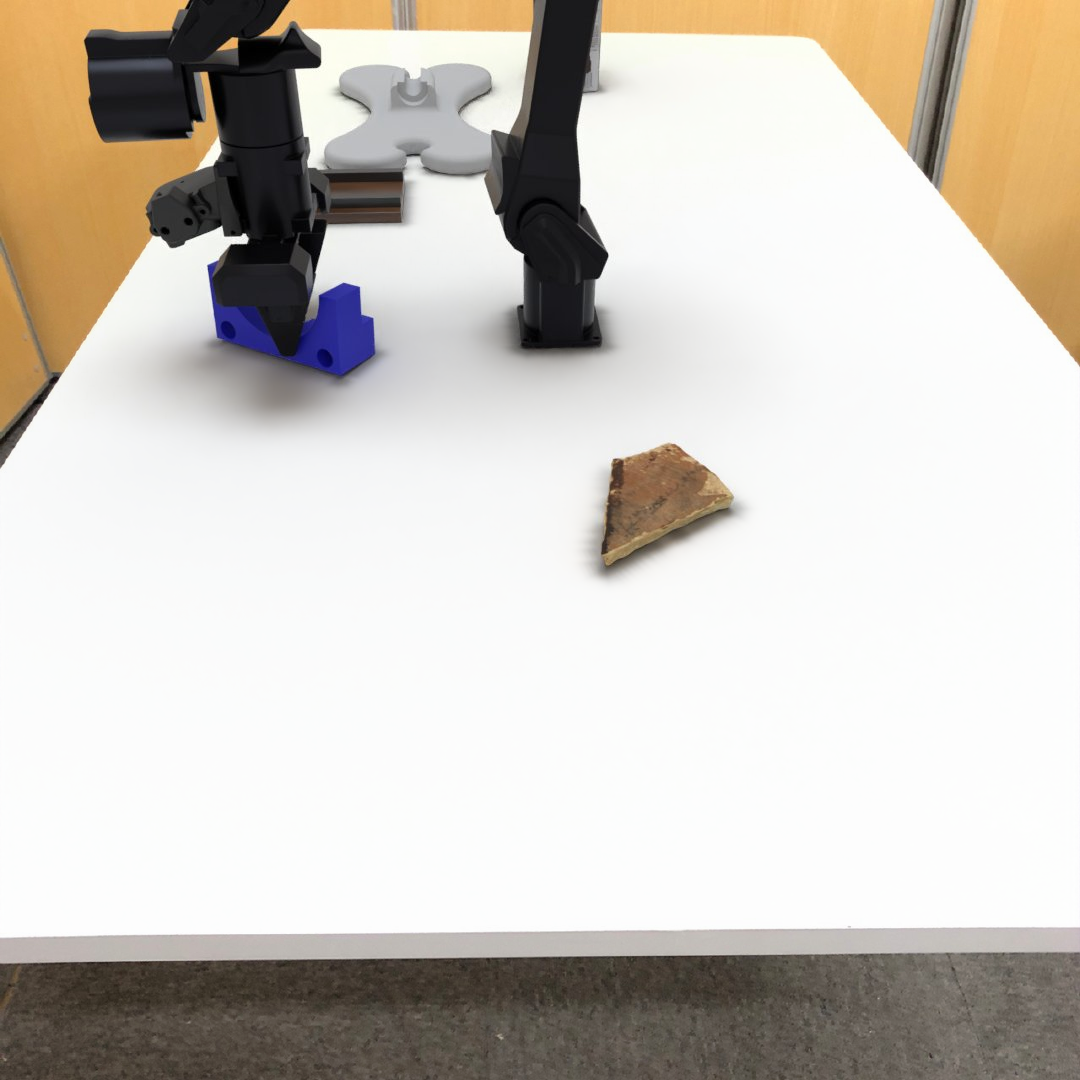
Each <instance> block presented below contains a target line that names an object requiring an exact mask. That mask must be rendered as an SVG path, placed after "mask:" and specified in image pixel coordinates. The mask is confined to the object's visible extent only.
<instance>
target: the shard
mask: <svg viewBox="0 0 1080 1080" xmlns="http://www.w3.org/2000/svg"><path fill="white" fill-rule="evenodd" d="M610 466H611V468H610V469H611V471H610V476H609V482H608V485H609V486H608V492H607V493H608V494H607V497H606V503H605V511H604V519H603V521H604V522H603V524H604V528H603V529H604V530H603V540H602V541H601V543H600V553H599V554H600V556H601V557H602V558H604V564H605V565H606V566H610V565H612V564H613V563H614V562H616V561H618V560H619V559H623V558H625V557H627V556H628V555H629V556H630V554H632V553H633V552H634V551H635V550H638V549H639V548H642V547H644V546H645V545H648V544H651V543H652V542H654V541H656V540H660V538H662V537H663V536H665V535H667V534H668V533H670V532H672V531H674V530H676V529H679V528H682V527H685V526H687V525H689V524H690V523H692V522H693V521H695V520H698V519H699V518H702V517H704V516H706V515H710V514H713V513H715V512H717V511H719V510H725V509H728V508H730V506H731V505H732V502H733V500H734V497H735V496H734V494H733V492H732V491H731V490H730V489H729V487H727V486H726V484H725V483H724V482H723V481H722V479H721V478H720V477H719V476H718V475H717V474H716V473H715V472H713V471H712V470H710V469H709V468H708V467H707V466H706V465H704V464H702V463H700V462H699V461H698V459H695V458H694V457H693V456H692V455H690V454H689V453H687V452H686V451H685V450H684V449H683V448H681V447H680V446H679V445H677V444H676V443H672V442H667V443H664V444H661V445H659V446H656V447H654V448H651V449H649V450H647V451H644V452H643V451H642V452H641V453H637V454H633V455H631V456H627V457H623V458H622V457H621V458H620V457H617V458H616V457H615V458H612V461H611V463H610Z"/></svg>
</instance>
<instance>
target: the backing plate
mask: <svg viewBox="0 0 1080 1080" xmlns="http://www.w3.org/2000/svg"><path fill="white" fill-rule="evenodd" d="M318 170H319V171H320V172H321V173H322V174H324V175H325V176H326V177H327V178H328V179H329V186H330V194H331V205H330V210H329V214H321V212H320V210H319V205H318V202H317V210H316V214H315V218H322V219H326V220H327V221H328V224H353V223H354V224H356V223H357V224H358V223H359V224H360V223H361V224H362V223H400V222H403V210H404V209H403V208H404V198H405V187H406V186H405V185H406V178H405V177H406V176H405V172H404V167H402V168H384V169H331V168H329V169H318Z"/></svg>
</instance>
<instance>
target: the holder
mask: <svg viewBox="0 0 1080 1080" xmlns="http://www.w3.org/2000/svg"><path fill="white" fill-rule="evenodd" d="M338 85H339V90H340V91H341V93H343V94H344V95H345V96H347V97H350V98H351V99H354V100H356V101H358V102H360V103H362V104H363V105H364V106H366V107H367V108H368V109H369V110H370V115H369V116H368V117H367V119H366V120H365V121H363V123H361V124H359V125H358V126H357V127H356V128H354V129H352V130H350V131H348V132H346V133H344V134H342V135H339V136H337V137H334V138H333V139H331V140H330V141H328V142H327V144H326V145H325V147H324V149H323V157H324V161H325V164H326V166H327V167H328V168H329V169H384V168H404V167H405V166H406V165H407V161H408V158H407V155H408V156H409V155H420V163H421V165H422V166H424V167H425V168H427V169H428V170H430V171H434V172H438V173H441V174H449V175H471V174H478V173H482V172H485V171H488V170H489V167H490V163H491V158H492V150H491V133H490V134H489V133H487V132H484V131H482V130H480V129H478V128H476V127H474V126H473V125H470V123H468V122H466V121H465V120H464V119H463V118H462V117H461V115H460V114H459V112H460V110H461V109H462V108H463V107H464V106H465V104H467V103H469V102H470V101H471V100H474V99H475V98H477V97H480V96H481V95H484V94H486V93H487V92H488V91H489V90H490V89H491V87H492V75H491V73H490V71H489V70H487V69H486V68H485V67H483V66H481V65H480V66H479V65H475V64H470V63H463V62H462V63H458V62H456V63H451V62H450V63H441V64H437V65H432V66H430V67H427V68H425V67H420V76H419V77H418V78H411V75H410V72H409V71H408V70H406V68H405V67H400V66H396V65H391V64H390V65H389V64H366V65H365V64H364V65H360V66H359V65H358V66H355V67H351V68H348V69H346V70H345V71H343V72H342V73H341V74H340V75H339V78H338Z"/></svg>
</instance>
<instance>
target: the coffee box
mask: <svg viewBox="0 0 1080 1080" xmlns="http://www.w3.org/2000/svg"><path fill="white" fill-rule="evenodd" d="M535 2H536V0H532V18H533V17H534V9H535ZM603 2H604V0H599V3H598V9H597V15H596V20H595V26H594V32H593V38H592V43H591V49H590V55H589V61H588V67H587V72H586V78H585V84H584V90H583V93H589V92H598V91H599V85H600V62H601V61H600V60H601V44H602V43H601V42H602V23H603V22H602V21H603V5H604V3H603Z"/></svg>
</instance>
